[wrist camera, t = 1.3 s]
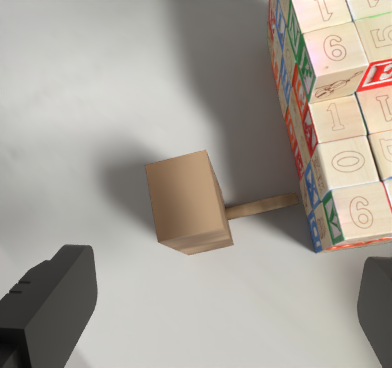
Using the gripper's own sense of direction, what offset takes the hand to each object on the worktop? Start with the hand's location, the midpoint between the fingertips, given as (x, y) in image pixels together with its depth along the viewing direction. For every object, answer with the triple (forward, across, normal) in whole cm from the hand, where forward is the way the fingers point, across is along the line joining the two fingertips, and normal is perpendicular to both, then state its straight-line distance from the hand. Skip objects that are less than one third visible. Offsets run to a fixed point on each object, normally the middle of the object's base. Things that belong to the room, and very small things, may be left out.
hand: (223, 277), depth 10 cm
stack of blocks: (+23, -9, 0) cm, 25 cm away
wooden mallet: (+19, -1, +6) cm, 20 cm away
